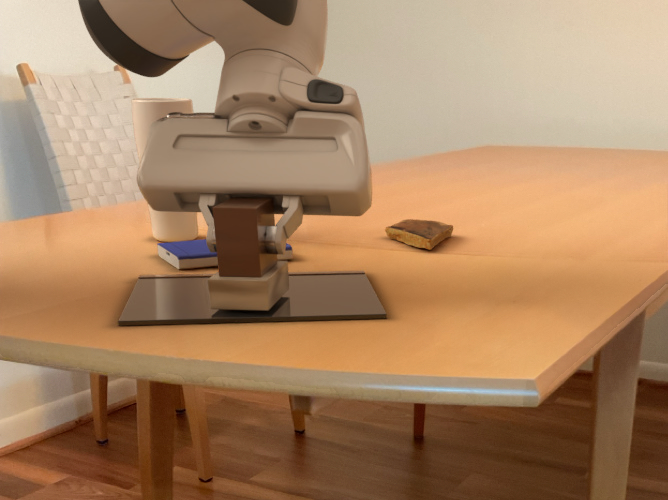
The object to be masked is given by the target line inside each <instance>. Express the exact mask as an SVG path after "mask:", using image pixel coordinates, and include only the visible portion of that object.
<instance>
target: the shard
mask: <svg viewBox="0 0 668 500" xmlns="http://www.w3.org/2000/svg"><path fill="white" fill-rule="evenodd" d="M384 231H385V233H386V236H387V237H388V238H389V239H390V240H397V241H398V242H402V243H404V244H406V245H407V246H413V247H415V248H420V249H426V250H428V251H432V249H434V247H435V246H437V245H439V244H440V243H441V242H443V241H444V240H446V239H448V238H451V237H452V235H453V231H454V226H453V224H447V223H444V222H443V221H442V222H441V221H436V220H427V219H413V218H410V219H402V220H400V221H398V222H397V223H394V224H392V225H388V226H386V227H385V229H384Z"/></svg>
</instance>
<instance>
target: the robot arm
mask: <svg viewBox="0 0 668 500" xmlns="http://www.w3.org/2000/svg"><path fill="white" fill-rule="evenodd" d="M77 2H78V6H79V10H80V14H81V17H82V21H83V24H84V26H85V28H86V30H87V32H88V34H89V36H90V38H91V39H92V41H93V43H94V44H95V45H96V46H97V48H98V49H99V51H100V52H102V53H103V55H104V56H105V57H107V58H108V59H109V60H110V61H111V62H113V63H114V64H116V65H118V66H119V67H121V68H123V69H125V70H127V71H129V72H131V73H133V74H136V75H138V76H142V77H145V78H158V77H161V76H163V75H164V74H166V73H167V72H169V71H170V70H172V69H173V68H174V67H176V66H177V65H179V64H180V63H182V62H183V61H184V60H185V59H187V58H188V57H189V56H190V55H191V54H192V53H195V52H197V51H198V50H200V49H202V48H204V47H206V46H207V45H209V44H211V43H213V42H215V43H216V44H218V45H219V47H220V48H221V49H222V51H223V54H224V59H223V65H222V68H221V71H220V78H219V84H218V90H217V95H216V101H215V108H214V112H194V113H181V112H172V113H168V114H167V117H163V118H161V119H159V120H157V121H155V122H153V123H152V124H151V126H150V128H149V132H148V137H147V145H146V147H145V150H144V152H143V155H142V158H141V161H140V163H139V165H138V169H137V173H136V184H137V187H138V189H139V191H140V193H141V195H142V197H143V198H144V200H145V201H146V202H147V205H148V204H149V205H150V206H151V208H152V209H153V210H155V211H167V212H197V213H201V214H202V217H203V220H204V221H205V223H206V225H207V232H206V237H205V239H206V243H207V246H208V248H209V251H210V252H217V249H216V239H215V229H214V218H213V207H215V206H217V205H219V204H221V203H222V202H224V201H226V200H228V199H230V198H232V197H272V198H273V203H274V215H282V216H281V217H280V218H279V220H277V223H275V226H266V231H265V234H266V236H265V239H264V245H265V248H266V249H267V254H282V255H284V254H285V249H286V243H287V241H288V239H290V238H291V236H292V235H294V233H295V232H296V231H297V230H298V229H299V228H300V227H301V225H302V224H303V219H304V216H327V217H329V216H331V217H363V215H364V214H365V213H366V212H368V210H369V209H370V208H371V207H372V204H373V203H372V202H373V175H372V173H373V172H372V167H371V158H370V152H369V146H368V145H369V144H368V141H367V135H366V130H365V128H366V127H365V119H364V114H363V113H364V112H363V109H362V105H361V103H360V98H359V96H358V93H357V91H356V89H354V88H353V87H352V86H348V85H345V84H342V83H340V82H339V83H338V82H335V81H331V80H328V79H326V78H323V77H319V74H320V73H321V70H322V68H323V66H324V61H325V57H326V56H325V55H326V49H327V40H328V27H329V26H328V25H329V24H328V23H329V22H328V21H329V16H328V15H329V13H328V12H329V11H328V0H77Z"/></svg>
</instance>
